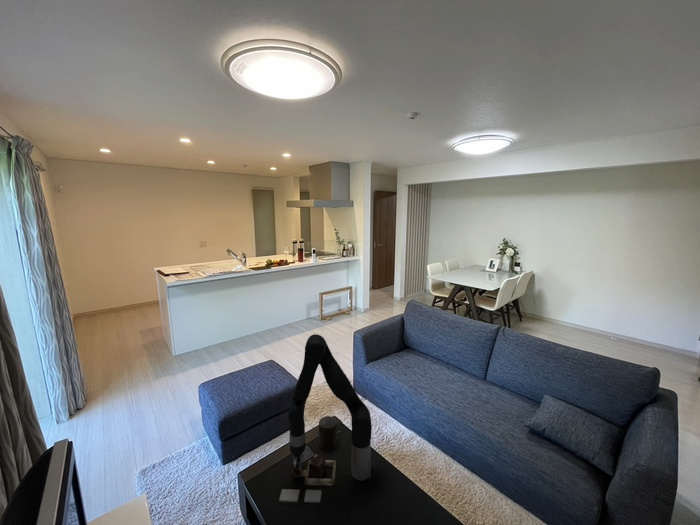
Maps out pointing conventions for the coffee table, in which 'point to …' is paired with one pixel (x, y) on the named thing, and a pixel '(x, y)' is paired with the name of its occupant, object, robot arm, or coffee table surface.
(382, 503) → the coffee table surface
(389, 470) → the coffee table surface
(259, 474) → the coffee table surface
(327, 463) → the wooden open tray
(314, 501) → the pair of grey tiles
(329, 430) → the pillar candle
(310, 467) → the box
